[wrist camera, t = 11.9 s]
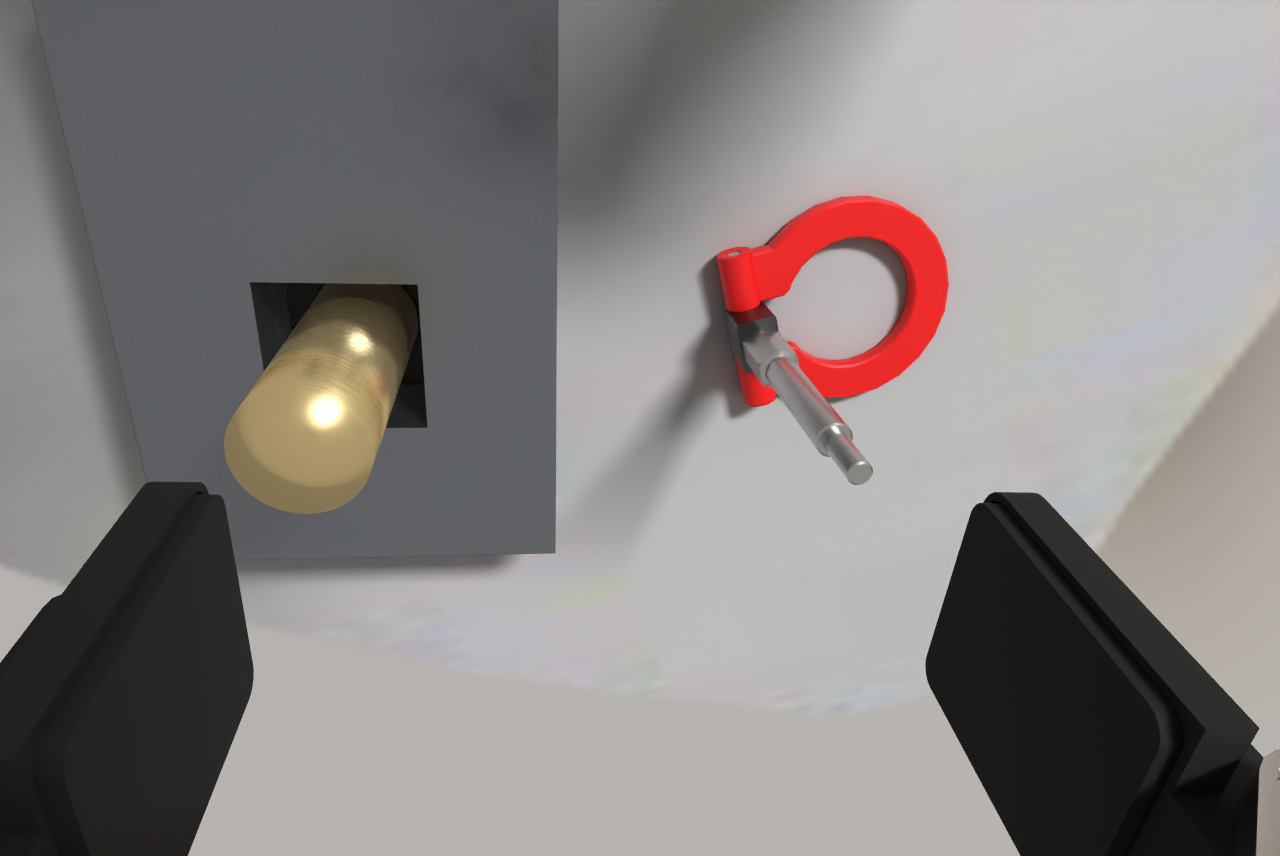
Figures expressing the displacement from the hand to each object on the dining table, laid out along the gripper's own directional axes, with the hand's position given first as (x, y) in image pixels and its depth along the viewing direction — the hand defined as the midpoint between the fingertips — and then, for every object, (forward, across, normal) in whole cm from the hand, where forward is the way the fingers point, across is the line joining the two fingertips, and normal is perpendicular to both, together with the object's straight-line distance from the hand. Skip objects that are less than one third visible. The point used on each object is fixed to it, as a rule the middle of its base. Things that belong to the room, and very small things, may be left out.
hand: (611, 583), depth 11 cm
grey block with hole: (+24, +8, +4) cm, 26 cm away
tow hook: (+25, -11, +5) cm, 28 cm away
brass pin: (+24, +8, +6) cm, 26 cm away
